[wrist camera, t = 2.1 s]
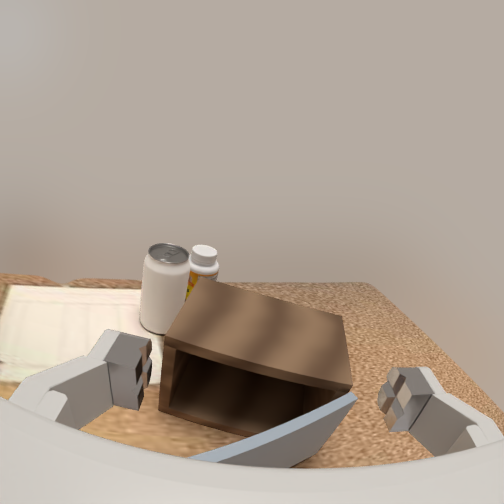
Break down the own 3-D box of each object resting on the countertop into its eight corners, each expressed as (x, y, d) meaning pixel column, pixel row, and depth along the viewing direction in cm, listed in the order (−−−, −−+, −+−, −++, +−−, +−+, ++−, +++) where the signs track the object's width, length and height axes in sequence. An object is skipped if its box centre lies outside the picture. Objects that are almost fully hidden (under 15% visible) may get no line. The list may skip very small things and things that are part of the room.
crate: (158, 410, 33) (165, 335, 28) (187, 348, 44) (200, 276, 39) (307, 448, 32) (352, 385, 27) (309, 381, 43) (341, 316, 38)
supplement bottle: (176, 293, 55) (184, 240, 51) (206, 294, 57) (217, 243, 53) (181, 313, 51) (190, 257, 46) (214, 313, 53) (226, 259, 49)
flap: (171, 513, 21) (178, 473, 16) (166, 505, 21) (172, 461, 17) (316, 453, 31) (357, 398, 26) (311, 447, 31) (351, 391, 27)
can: (131, 323, 45) (135, 251, 40) (154, 304, 51) (162, 237, 46) (167, 342, 44) (176, 270, 39) (188, 320, 49) (200, 253, 45)
